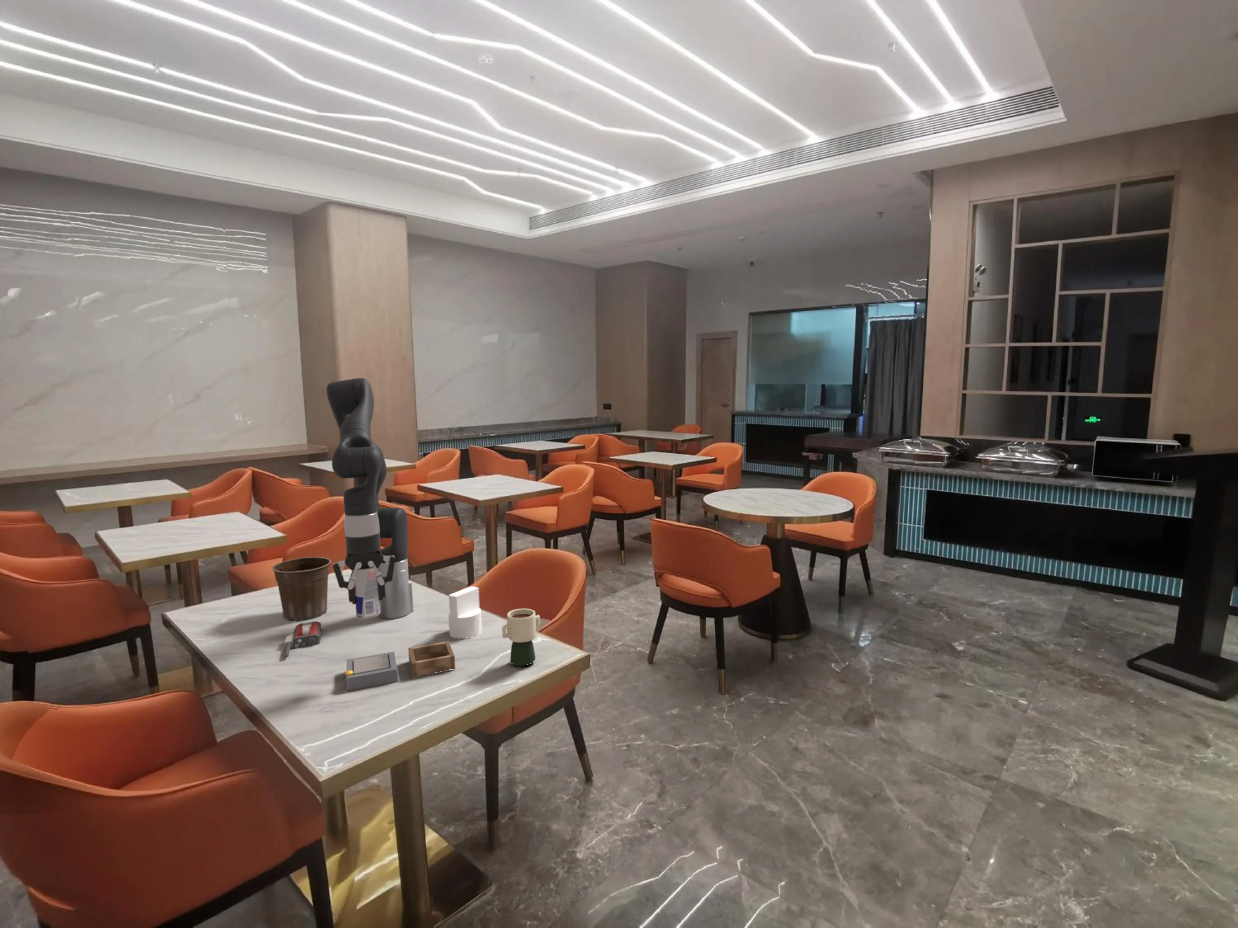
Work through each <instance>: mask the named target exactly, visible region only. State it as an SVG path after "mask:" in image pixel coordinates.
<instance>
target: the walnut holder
mask: <svg viewBox="0 0 1238 928" xmlns="http://www.w3.org/2000/svg"><path fill="white" fill-rule="evenodd" d="M407 650H408V663H409V666H410V667H409V668H410V671H411V677H412V678H413V677H414V678H418V677H417V676H419V677H422V676H421V675H424V676H427V675H426V674H430V675H433V674H432V673H435V672H440V671H445V670H449V669H455V670H456V663H455V662H456V658H455V653H454V651H453V649H452V646H451V644H450V642H449V641H442V642H436V643H430V644H425V645H418V646H411V647H408V648H407ZM445 672H446V671H445ZM440 673H441V672H440ZM435 674H436V673H435Z"/></svg>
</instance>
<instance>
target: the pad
mask: <svg viewBox="0 0 1238 928" xmlns="http://www.w3.org/2000/svg"><path fill="white" fill-rule="evenodd" d="M389 668H390V666H389V660H388V654H387V655H381V656H375V657H369V658H363V659H358V660H354V672H353V675H355V674H361V673H367V672H372V671H378V670H383V669H389Z"/></svg>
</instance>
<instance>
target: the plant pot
mask: <svg viewBox="0 0 1238 928" xmlns="http://www.w3.org/2000/svg"><path fill="white" fill-rule="evenodd" d="M331 563H332V560H331V559H330V558H328V557H321V556H310V557H307V556H306V557H298V558H294V559H293V558H292V559H289V560H285V561H284V560H283V561H281V562H278V563H275V564H274V565H273V566H272V567H271V569H272V571H273V572H274V577H275V582H276V583H277V587H278V592H279V596H280V597H279V598H280V602H281V608H282V615H283V618H284V619H285V620H287V621H293V620H296V621H297V622H299V621H307V620H311V619H312V620H313V619H315V618H319V617H320V616H322V615H323V614H326V613H327V611H328V585H329V584H328V583H329V575H330V566H331Z"/></svg>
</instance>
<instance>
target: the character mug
mask: <svg viewBox="0 0 1238 928" xmlns="http://www.w3.org/2000/svg"><path fill="white" fill-rule="evenodd" d="M540 627H541V617H540V615H539V614H537V615H536V611H535V610H533V609H530V608H518V609H517V608H516V609H513V610H510V611H508V612H507V613H506V624H504V625H502V627H501V632H502V633H501V634H502V638H503V639H509V641H511V642H512V643H511V647H510V659H509V661H510V662H509V663H511V664H512V665H515V666H521V667H522V666H523V665H527V664H530V663H532V662H533V661H534V660H535V661H536V654H535V653H536V652H535V648H534V642H533V640H534V639H535V638H536V637H537V636H536V635H537V629H538V628H540ZM532 664H533V663H532ZM530 665H531V664H530ZM523 667H524V666H523Z"/></svg>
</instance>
